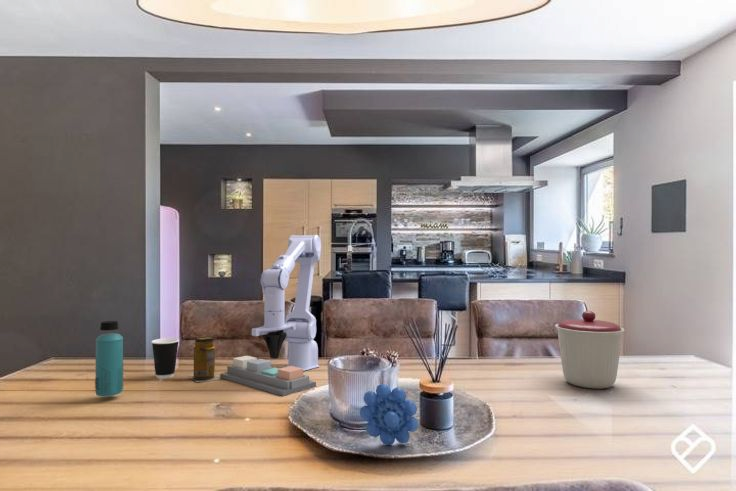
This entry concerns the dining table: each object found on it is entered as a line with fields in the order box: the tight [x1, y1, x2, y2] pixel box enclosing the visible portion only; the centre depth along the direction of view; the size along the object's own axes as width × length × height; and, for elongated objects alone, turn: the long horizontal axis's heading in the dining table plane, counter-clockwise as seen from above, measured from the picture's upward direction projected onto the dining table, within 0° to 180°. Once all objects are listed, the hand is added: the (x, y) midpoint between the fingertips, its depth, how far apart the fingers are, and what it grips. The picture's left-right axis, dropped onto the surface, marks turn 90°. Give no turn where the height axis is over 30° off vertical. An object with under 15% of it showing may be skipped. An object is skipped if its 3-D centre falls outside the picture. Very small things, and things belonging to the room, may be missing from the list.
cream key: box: [232, 355, 258, 369], centre depth 143 cm, size 5×5×2 cm
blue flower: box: [359, 383, 419, 446], centre depth 90 cm, size 12×7×12 cm, turn 97°
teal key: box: [262, 367, 280, 376], centre depth 134 cm, size 5×5×2 cm
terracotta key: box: [278, 366, 304, 381], centre depth 130 cm, size 5×5×2 cm
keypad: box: [219, 363, 317, 397], centre depth 136 cm, size 12×29×3 cm, turn 51°
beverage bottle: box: [94, 320, 125, 397], centre depth 120 cm, size 6×7×20 cm
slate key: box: [247, 358, 272, 372], centre depth 138 cm, size 5×5×2 cm
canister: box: [554, 310, 626, 390], centre depth 134 cm, size 18×18×21 cm
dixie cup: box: [150, 337, 180, 380], centre depth 142 cm, size 8×8×11 cm
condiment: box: [187, 336, 222, 383], centre depth 140 cm, size 7×8×12 cm
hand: (274, 357), depth 134 cm, fingers closed
